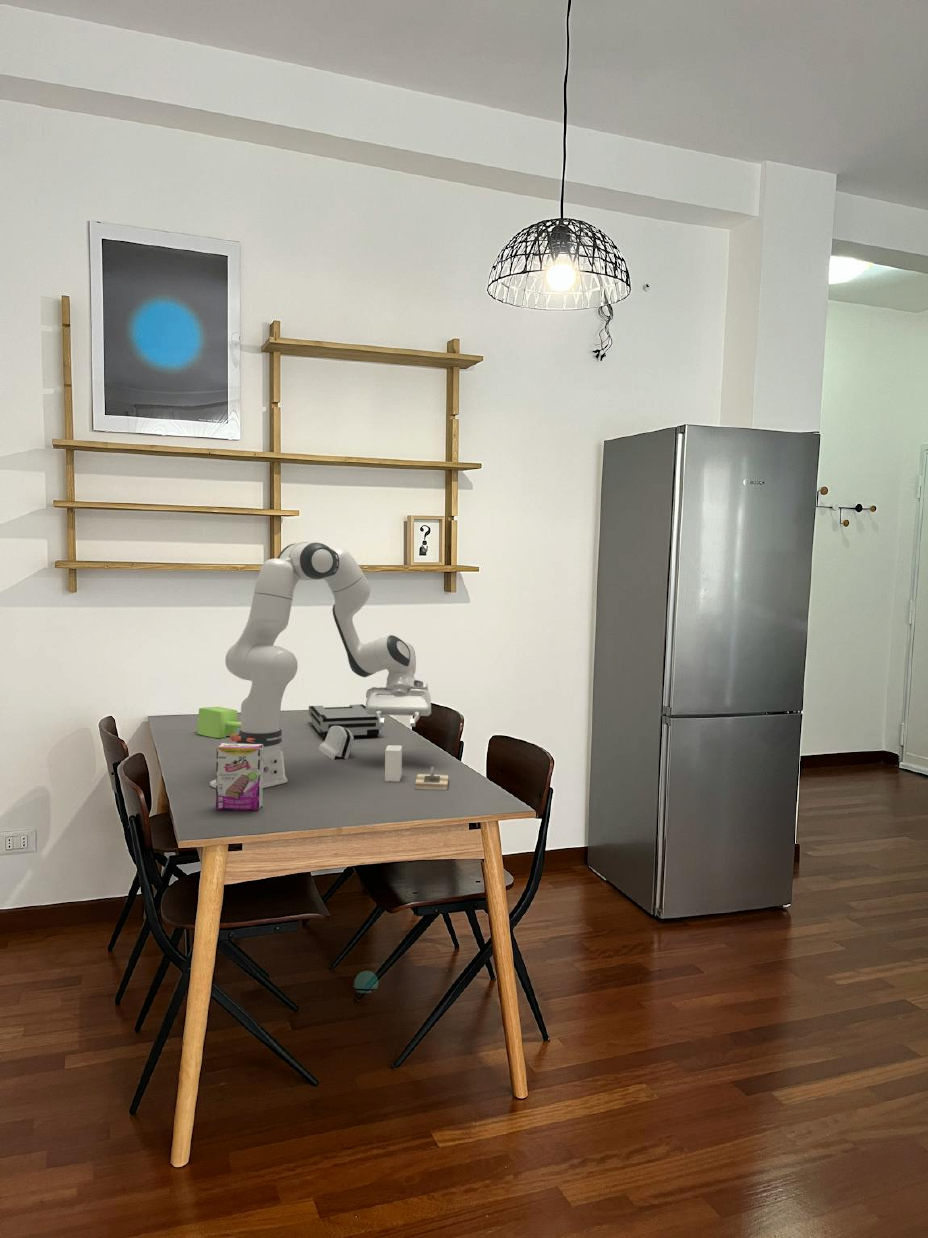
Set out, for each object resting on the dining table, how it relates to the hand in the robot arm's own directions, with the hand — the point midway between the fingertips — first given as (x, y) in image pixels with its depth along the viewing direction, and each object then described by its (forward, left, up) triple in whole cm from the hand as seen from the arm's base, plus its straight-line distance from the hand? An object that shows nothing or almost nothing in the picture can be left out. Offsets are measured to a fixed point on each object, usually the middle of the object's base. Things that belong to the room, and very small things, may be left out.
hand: (397, 725), depth 282 cm
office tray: (+39, +47, -14) cm, 63 cm away
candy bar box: (-57, +12, -14) cm, 60 cm away
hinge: (+8, +27, -14) cm, 32 cm away
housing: (-10, -5, -14) cm, 18 cm away
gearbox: (+9, +78, -14) cm, 80 cm away
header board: (-10, -18, -14) cm, 25 cm away
